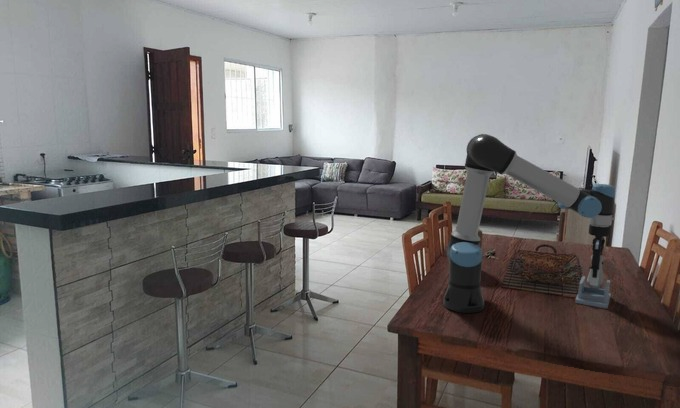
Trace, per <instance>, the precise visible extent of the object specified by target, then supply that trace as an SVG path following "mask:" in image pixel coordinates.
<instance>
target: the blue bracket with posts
mask: <svg viewBox="0 0 680 408" xmlns="http://www.w3.org/2000/svg"><path fill="white" fill-rule="evenodd" d="M585 284H586V276H584V275H581V279H580V281H579V284H578V293H577V295H576V297H575V301H574V303H575V304H579V305H586V306H588V307H589V306H591V307H595V308H599V309H600V308H601V309H604V310H605V309H606V310H608V307H609V304H610V300H611V297H612V296H611V293H610V284H611V280H610V279H607V280H606V282H605V286H604V288H599V289H593V288H590V287H589V285H588V286H587V285H585Z"/></svg>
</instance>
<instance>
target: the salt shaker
mask: <svg viewBox="0 0 680 408" xmlns="http://www.w3.org/2000/svg"><path fill="white" fill-rule="evenodd" d="M592 256H593V254H592V255H591V256H590V260H591V261H592ZM604 258H605V257H604V256H603V254H602V255H601V256H600V265H599V269H600V270H599V280H598V286H595V285H590V278H591V269H590V270H589V272H588V275H587V279H586V282H587V285H588V287H590V288H593V289H599V288H600V289H602V287H603V286H604V283H605V281H604V271H603V264H602V262H603V263H604V261H605V260H604ZM591 266H592V264H591ZM591 266H590V267H591Z"/></svg>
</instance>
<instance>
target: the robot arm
mask: <svg viewBox="0 0 680 408" xmlns="http://www.w3.org/2000/svg"><path fill="white" fill-rule="evenodd" d="M464 168H465V169H466V171H467V173H466V177H465V183H464V188H463V194H462V198H461V202H460V206H459V207H460V208H459V212H458V213H459V214H458V217H457V222H456V226H457V227H456V226H455V230H453V231H452V232H450V238H449V242H448V243H447V246H446V252H445V253H446V257H447V260H448V265H449V272H448V286H447V289H446V291H445V294H444V296H443V300H442V301H443V303H442V304H443V306H444V307H445V308H446V309H448V310H450V311H453V312H457V313H461V314H462V313H463V314H474V313H480V312H482V311H483V310H484V309H485V300H484V296H483V292H482V289H481V288H482V287H481V280H482V263H483V262H482V261H483V250H482V248H480V247H479V244H480V237H479V236H478V230H479V229H480V225H481V220H482V215H483V210H484V206H485V202H486V201H485V199H486V196H487V191H488V188H489V187H488V186H489V181H490V178H491V175H493V174H495V173H497V174H499V175H506V176H509V177H511V178H512V179H514V180H516V181H519V182H520V183H522V184H524V185H525V186H528V187H529V188H531V189H533V190H534V191H536V192H539V193H540V194H542V195H544V196H546V197H548V198H549V199H551V200H554V201H555V202H556V203H557V206H558V208H560V209H561V210H562V209H563V210H572V211H573V212H575V213H577V214H579V215H580V216H581V217H583V218H587V219H589V225H588V226H589V227H588V234H589V235H591V236H594V238H592V248H591V249H592V255H593V256H592V255H591V256H592V260H591V265H592V266H589V269H591V278H590V285H595V286H598V280H599V270H600V269H599V265H600V256H601V255H602V256H603V252H604V247H605V243H606V239H605V238H608V237H610V236H611V234H612V223H613V221H614V220H615V217H613V214H614V213H613V212H614V205H615V198H616V196H615V195H616V191H615V190H616V188H615V187H614V186H615V185H614V186H613V185H611V184H606V183H605V184H604V183H597V184H596V183H595V184H593V185H592V188H591V189H579V188H578V187H576V186H574V185H572V184H570V183H568V182H567V181H565V180H564V179H562V178H560V177H557V176H556V175H554V174H552V173H550V172H549V171H547V170H544V169H543V168H541V167H539V166H537V165H536V164H533V163H532V162H530V161H528V160H527V159H525V158H523V157H520V156H518V154H517V151H516V150H514V149H512V148H511V147H509V146H507V145H506V144H505V143H503V142H502V141H501V140H499V138H497V137H495V136H493V135H491V134H486V133H480V134H477V135H476V136H473V137H472V138H471V139H470V140H469V141H468V143H467V146H466V158H465V163H464ZM602 265H604V261H603V262H602Z"/></svg>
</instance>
